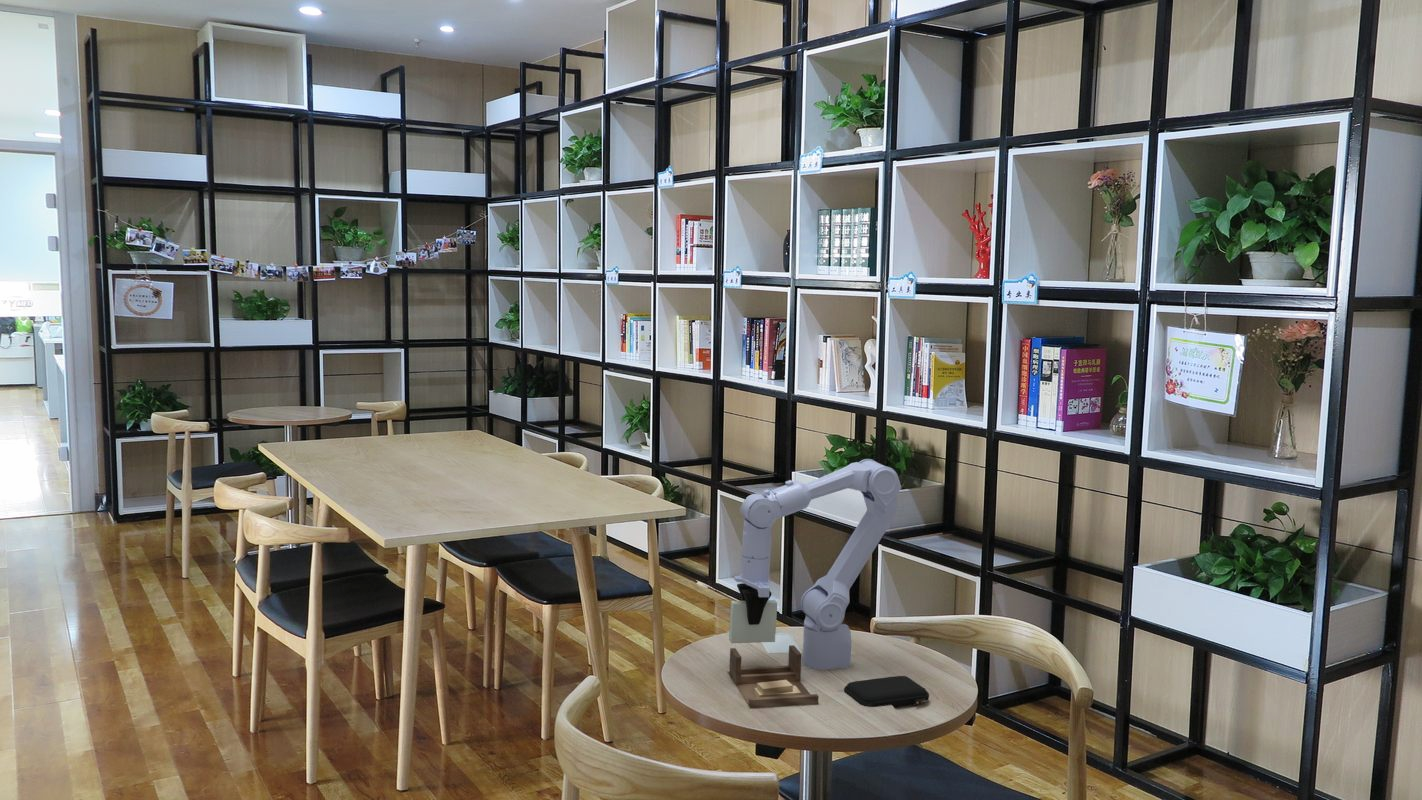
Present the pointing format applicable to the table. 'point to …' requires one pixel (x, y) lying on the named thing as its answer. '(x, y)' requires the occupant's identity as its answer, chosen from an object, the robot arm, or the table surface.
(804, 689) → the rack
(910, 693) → the carrying case or bag
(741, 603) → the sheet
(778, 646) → the hard drive
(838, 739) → the table surface
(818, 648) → the robot arm
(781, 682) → the offcut stack
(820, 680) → the table surface
